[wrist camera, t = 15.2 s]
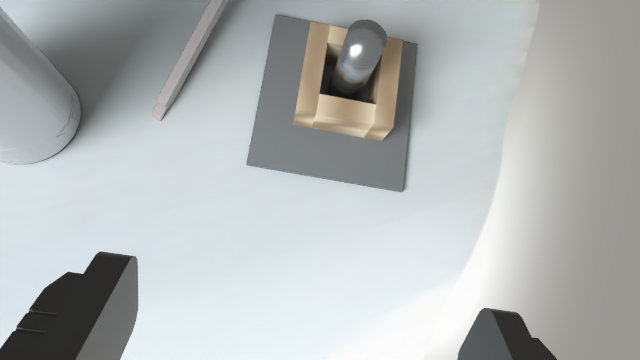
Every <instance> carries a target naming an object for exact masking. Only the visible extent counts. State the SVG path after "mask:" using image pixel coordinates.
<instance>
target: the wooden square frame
mask: <svg viewBox="0 0 640 360" xmlns="http://www.w3.org/2000/svg"><path fill="white" fill-rule="evenodd" d="M347 32H348V29H346V28H341V27H337V26H332V25H327V24H322V23H317V22H313V21H311V24H310V29H309V34H308V39H307V44H306V50H305V56H304V62H303V68H302V73H301V79H300V85H299V91H298V97H297V103H296V109H295V115H294V120H293V125H297V126H302V127H308V128H313V129H318V130H324V131H329V132H335V133H340V134H345V135H351V136H356V137H362V138H367V139H372V140H378V141H382V140H383V139H384V138H385V137H386V135H387V134H388V133H389V132H390V131H391V129H392V128H393V127H394V118H395V109H396V99H397V90H398V81H399V72H400V63H401V53H402V44H403V40H399V39H394V38H390V37H387V44H386V47H385V49H384V51H383V53H382V55H381V56H380V58H379V60H378V62H377V64H376V66H375V68H374V70H373V72H372V76H371V84H370V92H369V100H368V103H365V102H360V101H355V100H349V99H344V98H339V97H334V96H329V95H324V94H319V93H320V87H321V80H322V74H323V68H324V64H327V65H332V66H336V63H337V60H338V57H339V54H340V52H341V49H342V46H343V43H344V40H345V37H346V34H347Z"/></svg>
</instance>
